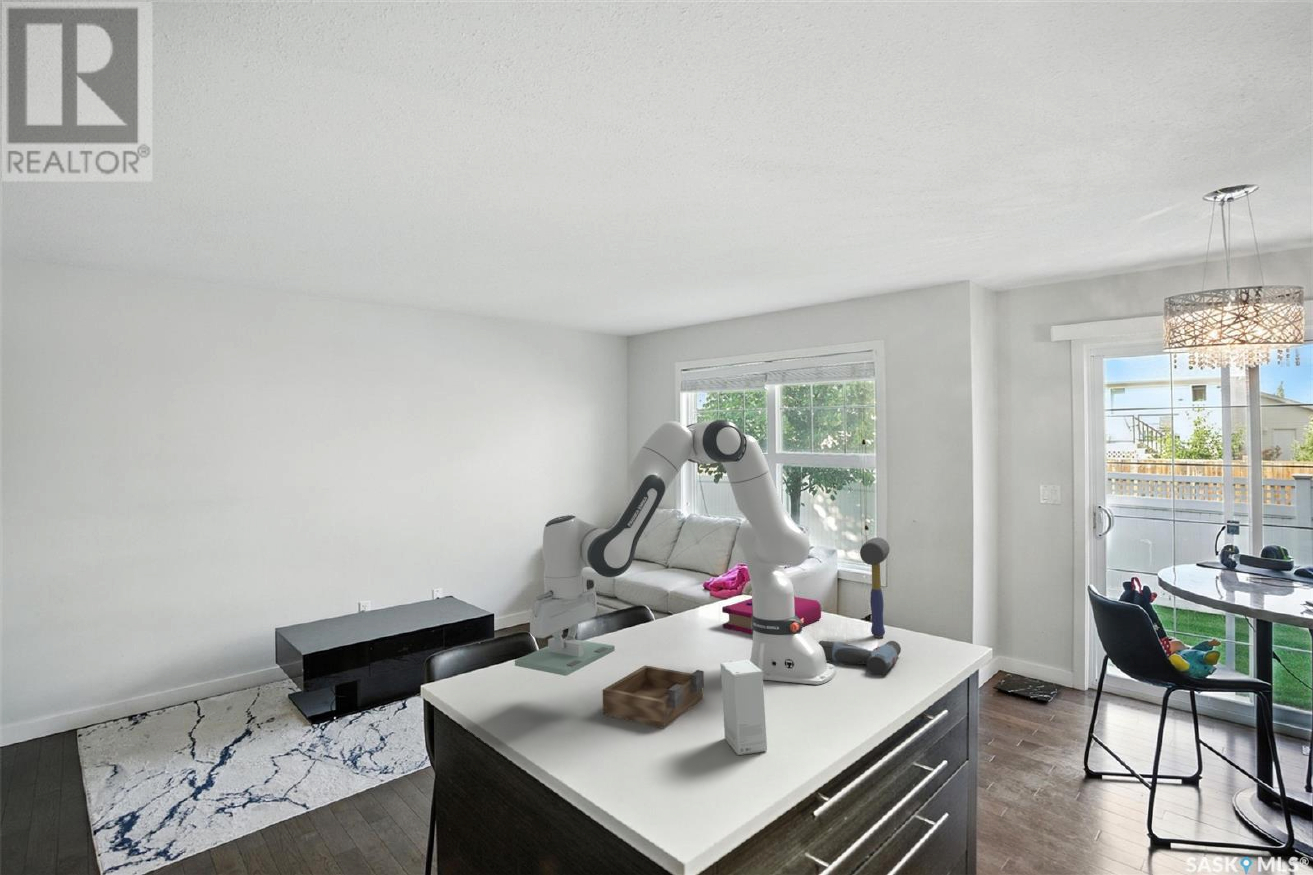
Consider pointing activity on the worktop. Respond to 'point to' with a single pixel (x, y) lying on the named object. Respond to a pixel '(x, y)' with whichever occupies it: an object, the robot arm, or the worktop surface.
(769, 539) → the robot arm
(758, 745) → the skincare box
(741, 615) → the book
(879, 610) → the rubber mallet
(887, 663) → the power drill
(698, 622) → the worktop surface
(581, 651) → the green lid with handle
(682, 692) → the wooden crate tray
